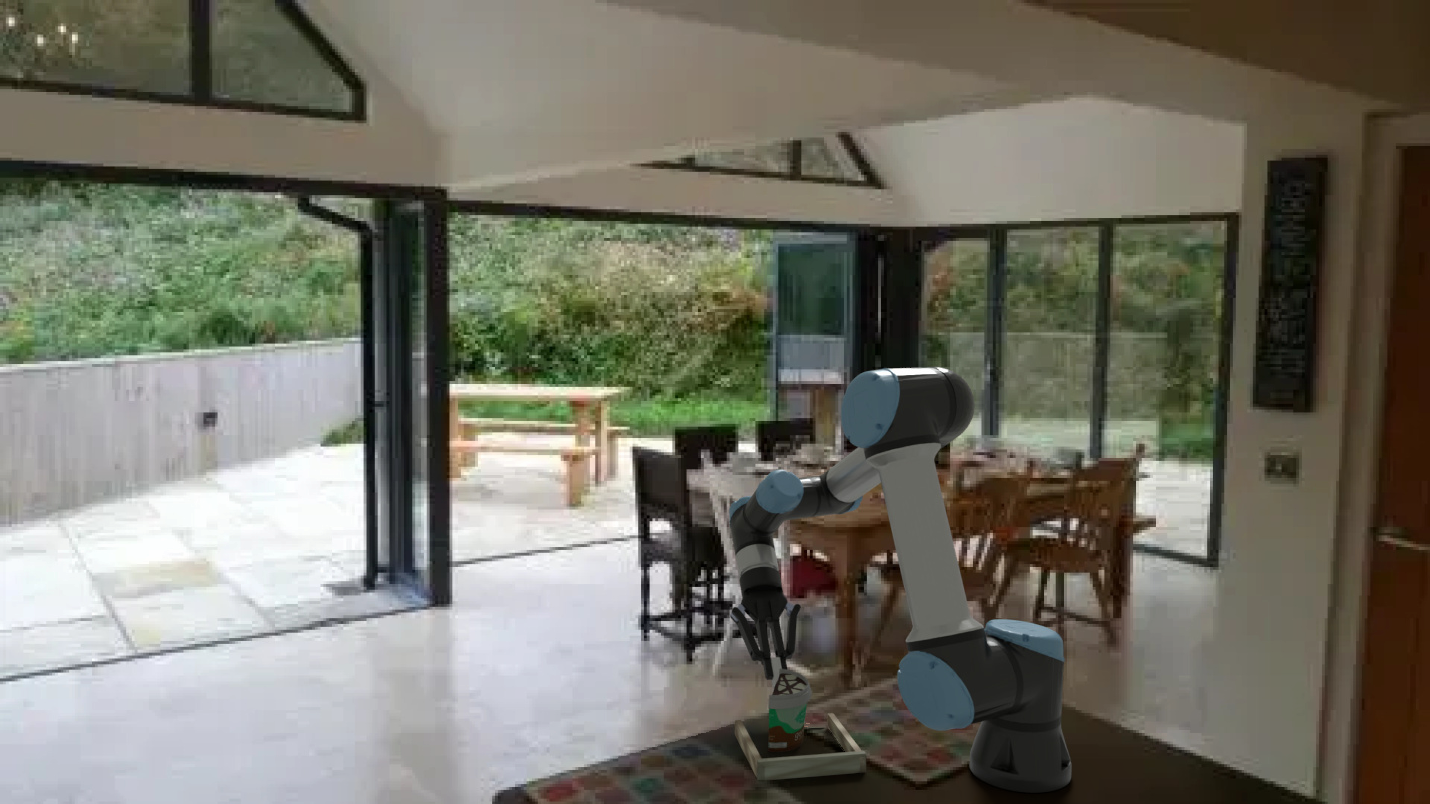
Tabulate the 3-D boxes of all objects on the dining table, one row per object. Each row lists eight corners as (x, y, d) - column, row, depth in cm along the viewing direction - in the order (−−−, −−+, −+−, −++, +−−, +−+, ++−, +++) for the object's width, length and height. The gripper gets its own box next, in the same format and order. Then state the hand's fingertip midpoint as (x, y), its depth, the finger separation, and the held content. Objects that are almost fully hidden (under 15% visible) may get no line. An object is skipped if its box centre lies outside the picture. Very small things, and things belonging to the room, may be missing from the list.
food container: (805, 760, 174) (807, 700, 172) (766, 756, 175) (768, 696, 174) (814, 727, 186) (816, 671, 184) (778, 723, 187) (779, 667, 186)
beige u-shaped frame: (865, 772, 169) (866, 753, 169) (758, 781, 166) (758, 762, 166) (832, 727, 186) (833, 710, 186) (734, 734, 183) (734, 717, 183)
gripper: (789, 583, 206) (812, 702, 191) (721, 587, 203) (739, 707, 189) (797, 563, 200) (821, 684, 185) (727, 566, 198) (746, 689, 183)
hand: (780, 696), depth 187 cm, fingers closed
